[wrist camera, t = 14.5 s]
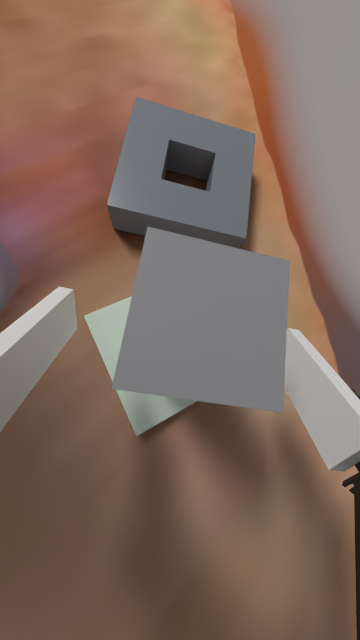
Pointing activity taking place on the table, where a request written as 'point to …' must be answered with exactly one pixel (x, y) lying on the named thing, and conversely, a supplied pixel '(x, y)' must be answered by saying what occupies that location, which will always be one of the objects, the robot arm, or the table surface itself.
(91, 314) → the pad
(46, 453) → the table surface
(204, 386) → the plug
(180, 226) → the grey square socket block
